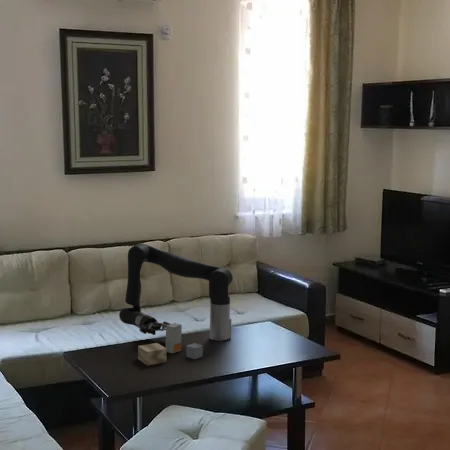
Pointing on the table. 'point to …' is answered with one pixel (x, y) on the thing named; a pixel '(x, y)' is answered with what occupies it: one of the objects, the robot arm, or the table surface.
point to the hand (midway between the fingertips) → (163, 331)
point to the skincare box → (173, 337)
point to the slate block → (194, 351)
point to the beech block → (152, 354)
